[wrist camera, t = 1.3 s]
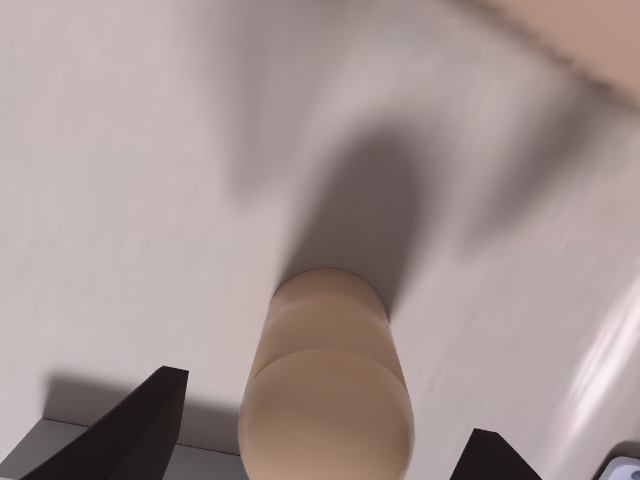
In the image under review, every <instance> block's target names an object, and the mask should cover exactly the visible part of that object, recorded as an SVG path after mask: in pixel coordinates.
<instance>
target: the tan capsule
mask: <svg viewBox="0 0 640 480" xmlns="http://www.w3.org/2000/svg"><path fill="white" fill-rule="evenodd" d="M414 440H415V431H414V417H413V411H412V406H411V402H410V398H409V394H408V391H407V387H406V384H405V380H404V376H403V373H402V369H401V366H400V362H399V359H398V355H397V351H396V348H395V344H394V341H393V337H392V334H391V330H390V326H389V323H388V319H387V316H386V312H385V309H384V306H383V303H382V301H381V299H380V297H379V295H378V294H377V292H376V291H375V289H374V288H373V287H372V286H371V285H370V284H369V283H367V282H366V281H365V280H364V279H362V278H360V277H359V276H357V275H355V274H353V273H350V272H348V271H344V270H340V269H334V268H318V269H313V270H308V271H305V272H302V273H300V274H298V275H296V276H294V277H292V278H291V279H289V280H288V281H287V282H285V283H284V284H283V285H282V286H281V287H280V288H279V289H278V291H277V292H276V293H275V295H274V296H273V298H272V301H271V303H270V306H269V309H268V313H267V316H266V319H265V323H264V326H263V330H262V333H261V337H260V340H259V344H258V347H257V351H256V354H255V358H254V361H253V364H252V368H251V371H250V375H249V378H248V382H247V385H246V389H245V392H244V396H243V399H242V402H241V407H240V412H239V419H238V443H239V450H240V455H241V459H242V462H243V465H244V468H245V471H246V473H247V476H248V478H249V479H250V480H404V478H405V476H406V473H407V471H408V468H409V465H410V462H411V459H412V453H413V447H414Z"/></svg>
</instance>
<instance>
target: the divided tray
mask: <svg viewBox="0 0 640 480" xmlns="http://www.w3.org/2000/svg"><path fill="white" fill-rule="evenodd" d="M87 429H89V427H83V426H78V425H73V424H68V423H62V422H57V421H52V420H47V419H40V420H39V421H38V423H37V424H36V425H35V426H34V427H33V428H32V429H31V430H30V432H29V433H28V434H27V435H26V436H25V437H24V438H23V439H22V440H21V442H20V443H19V444H18V445H17V446H16V447H15V448H14V449H13V450H12V452H11V453H10V454H9V455H8V456H7V457H6V458H5V459H4V461H3V462H2V463H1V464H0V480H19V479H20V478H22V477H23V476H25V475H26V474H27V473H29V472H30V471H32V470H33V469H35V468H36V467H38V466H39V465H40V464H42V463H43V462H44V461H46V460H47V459H49V458H50V457H51V456H53V455H54V454H55V453H57V452H58V451H59V450H61V449H62V448H63V447H65V446H66V445H67V444H69V443H70V442H71V441H73V440H74V439H75V438H77V437H78V436H80V435H81V434H82V433H83V432H85V431H86V430H87ZM162 480H250V479H249V478H248V476H247V473H246V471H245V468H244V465H243V462H242V459H241V456H236V455H231V454H225V453H220V452H215V451H210V450H204V449H199V448H194V447H189V446H183V445H178V444H176V445H175V447H174V450H173V453H172V455H171V458H170V461H169V463H168V466H167V469H166V471H165V474H164V477H163V479H162Z"/></svg>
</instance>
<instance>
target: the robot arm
mask: <svg viewBox="0 0 640 480" xmlns="http://www.w3.org/2000/svg"><path fill="white" fill-rule="evenodd" d="M188 374H189V371H187V370H182V369H177V368H172V367H167V366H162V367H160V368H159V369H157V370H156V371H155V372H154V373H153V374H152V375H151V376H150V377H149V378H148V379H146V380H145V381H144V382H143V383H142V384H141V385H140V386H139V387H138V388H136V389H135V390H134V391H133V392H132V393H131V394H130V395H128V396H127V397H126V398H125V399H124V400H123V401H121V402H120V403H119V404H118V405H117V406H116V407H114V408H113V409H112V410H111V411H109V412H108V413H107V414H106V415H105V416H103V417H102V418H101V419H100V420H98V421H97V422H96V423H95V424H93V425H92V426H91V427H90V428H89V429H87V430H86V431H85V432H83V433H82V434H81V435H80V436H78V437H77V438H75V439H74V440H73V441H71V442H70V443H69V444H67V445H66V446H65V447H63V448H62V449H61V450H59V451H58V452H57V453H55V454H54V455H53V456H51V457H50V458H49V459H47V460H46V461H44V462H43V463H42V464H40V465H39V466H38V467H36V468H35V469H33V470H32V471H30V472H29V473H27V474H26V475H25V476H23V477H22V478H20V479H19V480H162V479H163V477H164V474H165V471H166V469H167V466H168V463H169V461H170V458H171V455H172V453H173V450H174V447H175V445H176V442H177V439H178V437H179V431H180V425H181V418H182V412H183V406H184V399H185V393H186V386H187V380H188ZM450 480H542V479H541V478H540V477H539V475H538V474H537V473H536V472H535V471H534V470H533V469H532V468H531V467H530V466H529V465H528V464H527V463H526V462H525V460H524V459H523V458H522V457H521V456H520V455H519V454H518V453H517V452H516V451H515V450H514V449H513V448H512V447H511V446H510V445H509V444H508V443H507V442H506V441H505V440H504V439H503V438H502V437H501V436H500V435H499V434H498V433H496V432H491V431H486V430H481V429H476V428H474V430H473V432H472V434H471V436H470V438H469V440H468V442H467V445H466V447H465V449H464V451H463V453H462V455H461V457H460V459H459V461H458V463H457V465H456V467H455V470H454V472H453V474H452V476H451V478H450ZM599 480H640V460H639V459H635V458H630V457H616V458H614V459H613V460H612V461H611V462H610V463H609V464H608V466H607V467H606V469H605V470H604V472H603V473H602V475H601V477H600V478H599Z"/></svg>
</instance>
